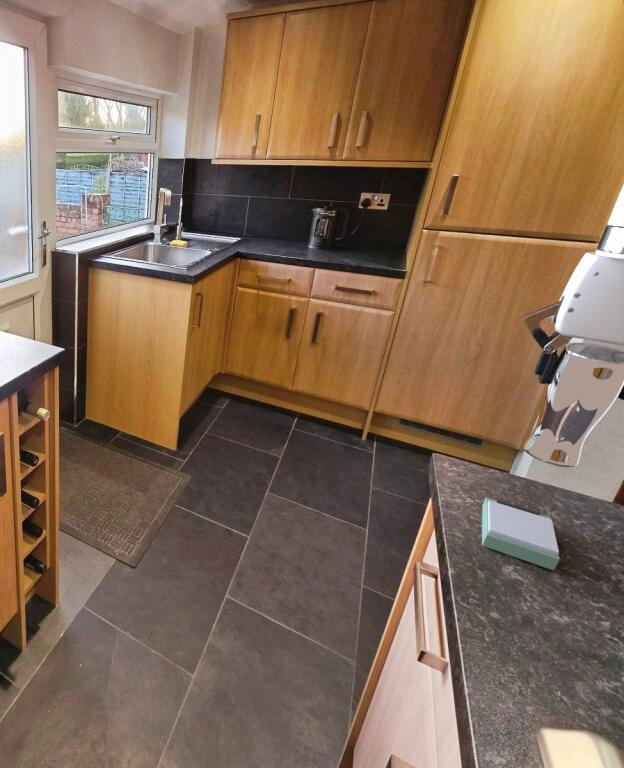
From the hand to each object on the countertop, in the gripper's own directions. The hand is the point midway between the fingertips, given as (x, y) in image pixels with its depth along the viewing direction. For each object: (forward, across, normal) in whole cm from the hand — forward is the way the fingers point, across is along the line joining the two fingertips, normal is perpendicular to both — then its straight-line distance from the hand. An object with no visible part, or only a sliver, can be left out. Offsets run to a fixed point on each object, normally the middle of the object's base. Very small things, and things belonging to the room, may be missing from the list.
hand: (580, 387), depth 63 cm
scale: (+24, 0, 0) cm, 24 cm away
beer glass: (+10, 0, 0) cm, 10 cm away
